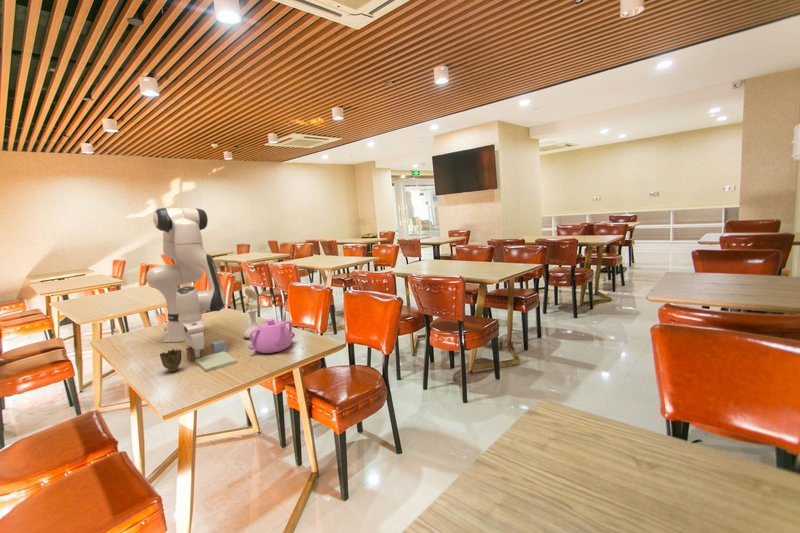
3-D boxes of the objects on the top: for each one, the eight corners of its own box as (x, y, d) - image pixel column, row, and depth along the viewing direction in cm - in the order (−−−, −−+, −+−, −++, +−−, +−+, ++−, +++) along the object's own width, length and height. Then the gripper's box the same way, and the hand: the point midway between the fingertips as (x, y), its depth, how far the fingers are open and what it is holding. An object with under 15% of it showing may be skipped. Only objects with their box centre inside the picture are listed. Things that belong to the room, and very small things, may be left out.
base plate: (195, 361, 159) (194, 359, 159) (224, 353, 167) (224, 351, 167) (205, 372, 148) (205, 369, 147) (236, 362, 156) (236, 360, 155)
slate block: (211, 352, 170) (210, 342, 169) (223, 349, 173) (222, 339, 172) (215, 355, 166) (213, 344, 165) (226, 352, 170) (225, 341, 169)
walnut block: (187, 359, 163) (186, 348, 163) (200, 355, 167) (198, 345, 166) (190, 362, 160) (188, 351, 159) (203, 358, 163) (201, 347, 162)
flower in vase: (270, 336, 189) (265, 288, 185) (247, 342, 182) (241, 292, 178) (261, 330, 199) (256, 285, 195) (239, 336, 192) (233, 288, 188)
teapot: (264, 363, 154) (260, 331, 152) (241, 351, 169) (238, 322, 167) (309, 347, 169) (307, 318, 167) (285, 338, 184) (283, 311, 182)
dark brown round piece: (168, 376, 146) (165, 356, 144) (158, 372, 149) (156, 353, 148) (187, 369, 152) (184, 350, 151) (177, 366, 156) (175, 347, 155)
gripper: (177, 321, 166) (181, 351, 168) (188, 330, 151) (193, 363, 153) (192, 318, 171) (196, 347, 173) (205, 327, 156) (209, 358, 158)
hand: (195, 354), depth 163 cm, fingers open, 6 cm apart
